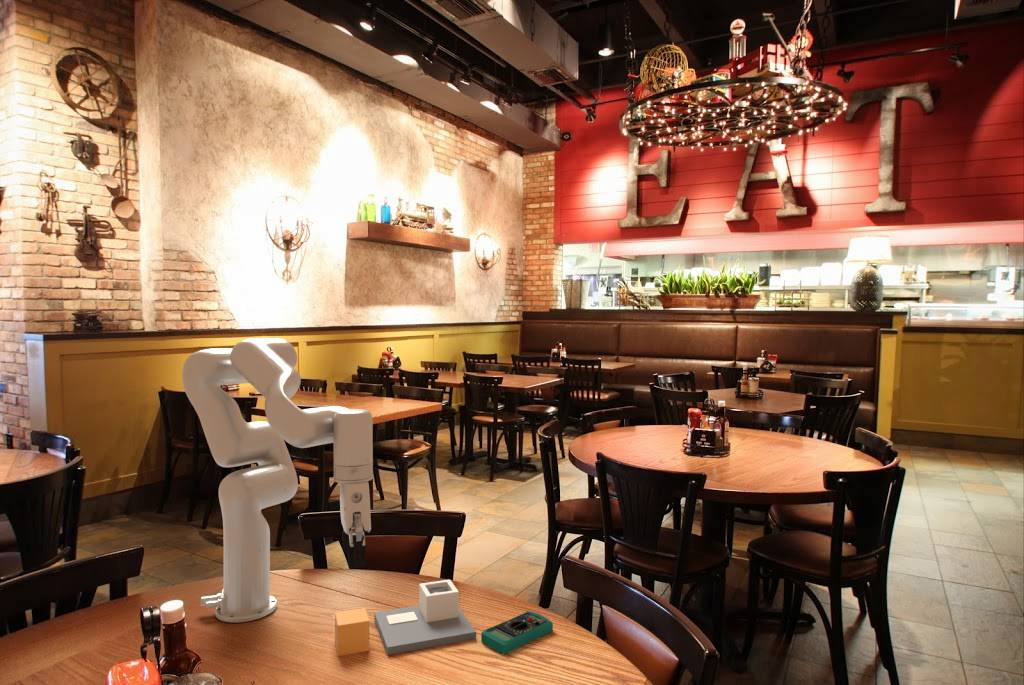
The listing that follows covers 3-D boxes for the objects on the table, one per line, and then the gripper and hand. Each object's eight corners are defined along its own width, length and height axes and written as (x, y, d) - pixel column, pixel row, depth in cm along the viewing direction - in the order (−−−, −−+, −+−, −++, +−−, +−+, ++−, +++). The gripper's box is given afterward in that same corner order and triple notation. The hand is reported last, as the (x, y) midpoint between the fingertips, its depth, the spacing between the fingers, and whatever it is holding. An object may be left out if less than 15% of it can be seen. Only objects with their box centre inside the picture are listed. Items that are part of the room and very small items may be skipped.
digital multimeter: (555, 632, 130) (555, 618, 130) (504, 657, 119) (504, 642, 119) (530, 621, 135) (530, 607, 135) (479, 644, 124) (479, 629, 124)
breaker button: (431, 615, 131) (431, 597, 131) (426, 607, 135) (426, 589, 135) (451, 612, 133) (451, 594, 133) (445, 604, 137) (445, 586, 137)
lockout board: (387, 655, 119) (387, 619, 119) (374, 619, 134) (374, 587, 134) (475, 639, 126) (476, 605, 125) (454, 606, 140) (454, 576, 140)
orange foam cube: (337, 656, 118) (337, 625, 118) (334, 641, 124) (334, 612, 124) (369, 651, 121) (369, 620, 121) (365, 636, 126) (365, 607, 126)
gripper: (379, 479, 115) (380, 570, 115) (366, 462, 131) (366, 542, 131) (338, 483, 112) (338, 576, 112) (329, 465, 129) (330, 547, 129)
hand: (353, 558), depth 122 cm, fingers open, 9 cm apart
